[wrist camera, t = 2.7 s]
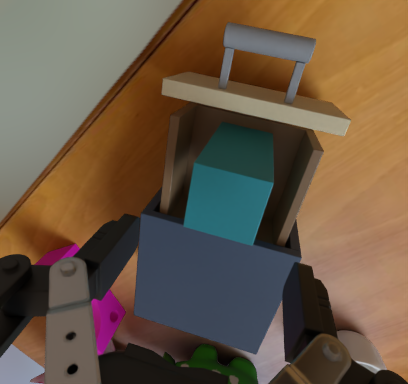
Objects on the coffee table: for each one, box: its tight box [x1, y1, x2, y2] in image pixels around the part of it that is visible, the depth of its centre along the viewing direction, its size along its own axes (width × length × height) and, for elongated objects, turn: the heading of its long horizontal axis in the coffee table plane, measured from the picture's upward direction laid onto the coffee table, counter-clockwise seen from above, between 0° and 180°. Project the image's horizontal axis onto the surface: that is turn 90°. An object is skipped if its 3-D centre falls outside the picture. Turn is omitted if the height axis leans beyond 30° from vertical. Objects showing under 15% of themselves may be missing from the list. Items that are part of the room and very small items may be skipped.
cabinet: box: [134, 187, 302, 354], centre depth 32 cm, size 15×15×9 cm
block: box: [183, 122, 274, 246], centre depth 22 cm, size 5×5×11 cm
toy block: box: [35, 244, 126, 355], centre depth 42 cm, size 15×6×8 cm, turn 25°
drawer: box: [160, 22, 351, 247], centre depth 25 cm, size 18×14×7 cm
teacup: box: [336, 330, 387, 374], centre depth 37 cm, size 10×8×5 cm
